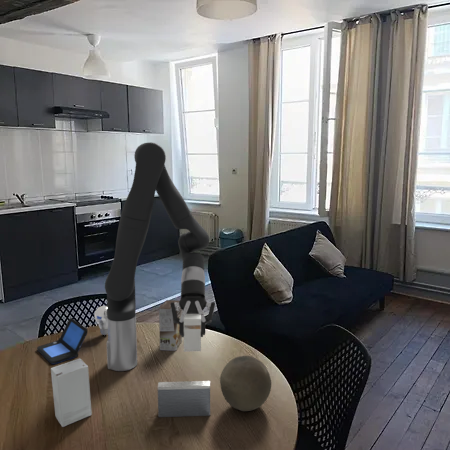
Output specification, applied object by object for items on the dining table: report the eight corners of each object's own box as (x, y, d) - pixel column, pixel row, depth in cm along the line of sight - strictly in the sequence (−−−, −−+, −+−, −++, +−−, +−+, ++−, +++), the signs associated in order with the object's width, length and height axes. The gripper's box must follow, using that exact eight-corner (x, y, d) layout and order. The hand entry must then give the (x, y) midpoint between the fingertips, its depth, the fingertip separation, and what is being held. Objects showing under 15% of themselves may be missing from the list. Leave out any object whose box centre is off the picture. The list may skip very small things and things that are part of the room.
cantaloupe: (221, 394, 120) (221, 346, 118) (269, 395, 120) (269, 347, 118) (218, 425, 107) (218, 371, 104) (273, 426, 106) (274, 372, 104)
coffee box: (176, 351, 147) (175, 309, 145) (159, 350, 148) (158, 308, 146) (182, 340, 156) (181, 300, 154) (166, 339, 157) (165, 299, 155)
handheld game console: (36, 350, 149) (34, 326, 147) (72, 339, 158) (70, 317, 156) (52, 366, 137) (50, 340, 136) (90, 353, 146) (88, 329, 145)
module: (183, 351, 119) (183, 319, 118) (184, 345, 123) (184, 313, 122) (200, 351, 119) (201, 318, 118) (200, 345, 123) (201, 313, 122)
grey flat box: (158, 417, 110) (157, 387, 108) (159, 411, 112) (158, 382, 111) (210, 415, 110) (210, 385, 109) (210, 410, 113) (210, 380, 111)
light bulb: (117, 333, 163) (116, 304, 161) (105, 340, 156) (104, 310, 154) (103, 330, 165) (102, 302, 164) (91, 337, 159) (90, 307, 157)
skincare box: (84, 406, 115) (81, 356, 112) (92, 416, 110) (89, 365, 108) (53, 417, 109) (49, 366, 107) (60, 429, 105) (57, 375, 103)
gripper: (169, 278, 125) (166, 331, 115) (216, 278, 126) (217, 331, 116) (170, 289, 131) (168, 341, 121) (215, 289, 132) (216, 340, 122)
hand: (192, 336), depth 119 cm, fingers closed on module, 5 cm apart
